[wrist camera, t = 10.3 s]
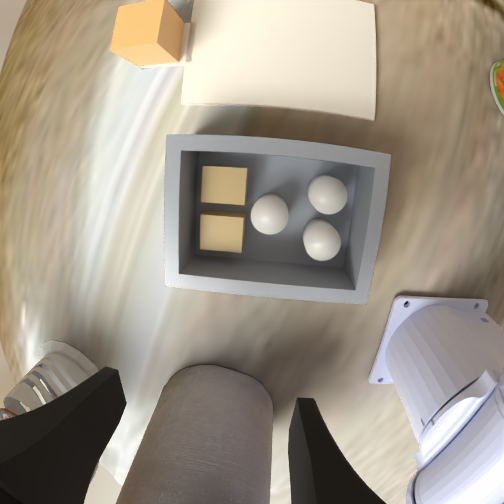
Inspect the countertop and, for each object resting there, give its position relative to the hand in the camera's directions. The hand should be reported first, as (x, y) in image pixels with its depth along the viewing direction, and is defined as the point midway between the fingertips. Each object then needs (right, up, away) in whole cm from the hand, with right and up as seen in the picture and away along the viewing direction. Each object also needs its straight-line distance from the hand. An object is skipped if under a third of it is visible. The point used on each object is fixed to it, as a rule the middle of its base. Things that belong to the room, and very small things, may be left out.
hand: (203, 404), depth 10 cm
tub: (+3, +9, +8) cm, 12 cm away
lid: (+2, +19, +5) cm, 19 cm away
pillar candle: (-1, -7, +13) cm, 15 cm away
